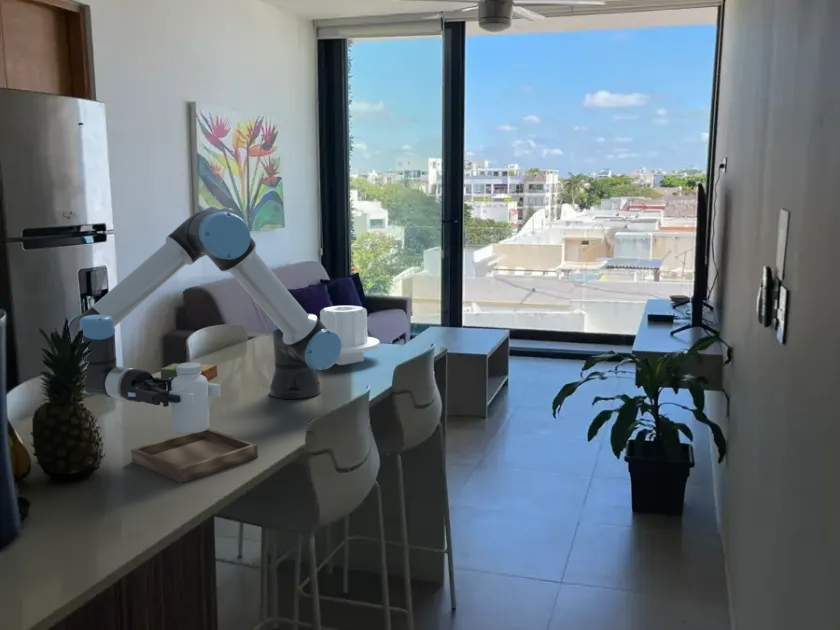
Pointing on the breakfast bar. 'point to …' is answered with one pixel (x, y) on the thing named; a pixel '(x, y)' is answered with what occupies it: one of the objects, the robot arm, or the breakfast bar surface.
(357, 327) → the flanged gear
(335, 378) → the breakfast bar surface
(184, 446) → the tray
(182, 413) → the pill bottle
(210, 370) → the carton
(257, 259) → the robot arm
